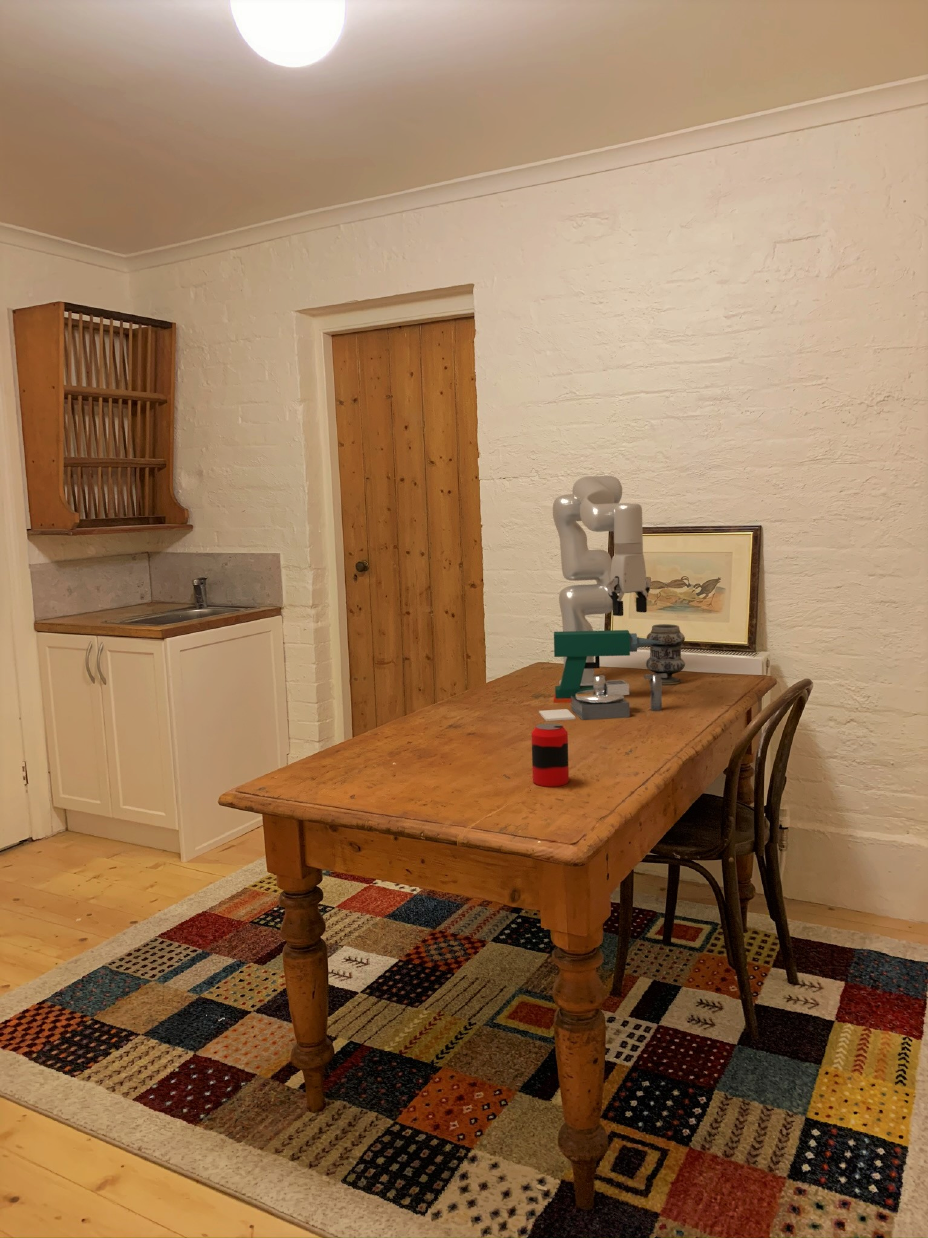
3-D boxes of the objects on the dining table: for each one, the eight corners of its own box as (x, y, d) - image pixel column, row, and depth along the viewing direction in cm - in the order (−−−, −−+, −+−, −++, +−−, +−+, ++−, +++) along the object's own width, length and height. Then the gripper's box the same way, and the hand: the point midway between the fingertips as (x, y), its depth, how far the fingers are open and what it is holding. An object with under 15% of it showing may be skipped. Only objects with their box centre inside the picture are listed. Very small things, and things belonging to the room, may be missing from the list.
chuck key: (644, 709, 265) (643, 674, 264) (665, 708, 266) (664, 672, 264) (647, 711, 262) (646, 675, 261) (668, 710, 263) (668, 674, 261)
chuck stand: (571, 709, 268) (570, 695, 267) (616, 707, 269) (616, 693, 269) (582, 720, 255) (581, 705, 254) (629, 717, 256) (629, 702, 256)
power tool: (662, 696, 281) (661, 629, 279) (664, 701, 275) (664, 632, 272) (553, 697, 285) (552, 631, 282) (553, 702, 278) (551, 634, 275)
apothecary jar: (688, 685, 296) (688, 627, 294) (649, 686, 296) (649, 629, 294) (680, 677, 308) (680, 622, 306) (643, 679, 308) (642, 623, 306)
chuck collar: (570, 694, 267) (570, 673, 267) (619, 691, 269) (619, 670, 268) (581, 704, 254) (581, 681, 254) (632, 700, 256) (632, 678, 255)
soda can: (563, 788, 196) (562, 731, 195) (528, 785, 199) (526, 729, 197) (572, 778, 203) (571, 723, 202) (538, 775, 206) (536, 721, 204)
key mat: (539, 713, 265) (538, 710, 265) (567, 711, 266) (567, 709, 266) (546, 721, 255) (546, 718, 255) (575, 719, 256) (575, 717, 256)
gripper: (638, 548, 263) (639, 610, 265) (596, 551, 252) (597, 616, 254) (660, 548, 257) (661, 611, 259) (618, 552, 246) (619, 617, 248)
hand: (629, 613), depth 256 cm, fingers open, 9 cm apart
